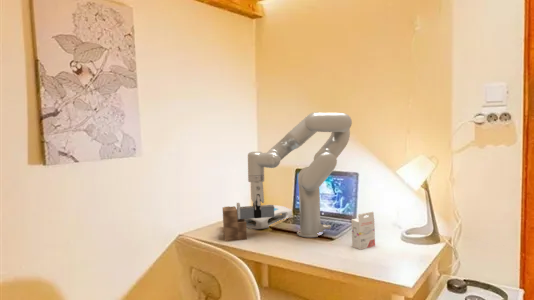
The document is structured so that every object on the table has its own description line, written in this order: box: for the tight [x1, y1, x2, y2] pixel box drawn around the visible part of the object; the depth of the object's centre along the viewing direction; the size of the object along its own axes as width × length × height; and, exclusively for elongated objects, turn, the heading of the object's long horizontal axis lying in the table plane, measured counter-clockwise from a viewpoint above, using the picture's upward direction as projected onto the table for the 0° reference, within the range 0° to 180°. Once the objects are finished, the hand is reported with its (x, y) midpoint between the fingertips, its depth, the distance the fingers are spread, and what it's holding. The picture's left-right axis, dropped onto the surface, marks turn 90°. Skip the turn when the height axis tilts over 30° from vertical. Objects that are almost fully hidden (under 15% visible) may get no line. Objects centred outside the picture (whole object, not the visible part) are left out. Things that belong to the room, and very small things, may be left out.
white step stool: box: [245, 204, 293, 230], centre depth 204 cm, size 21×28×6 cm
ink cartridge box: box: [350, 211, 376, 250], centre depth 159 cm, size 9×5×15 cm, turn 117°
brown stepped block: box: [222, 206, 248, 242], centre depth 184 cm, size 10×22×14 cm, turn 10°
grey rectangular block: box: [236, 202, 274, 219], centre depth 179 cm, size 17×4×7 cm, turn 100°
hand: (257, 216), depth 179 cm, fingers closed on grey rectangular block, 3 cm apart
